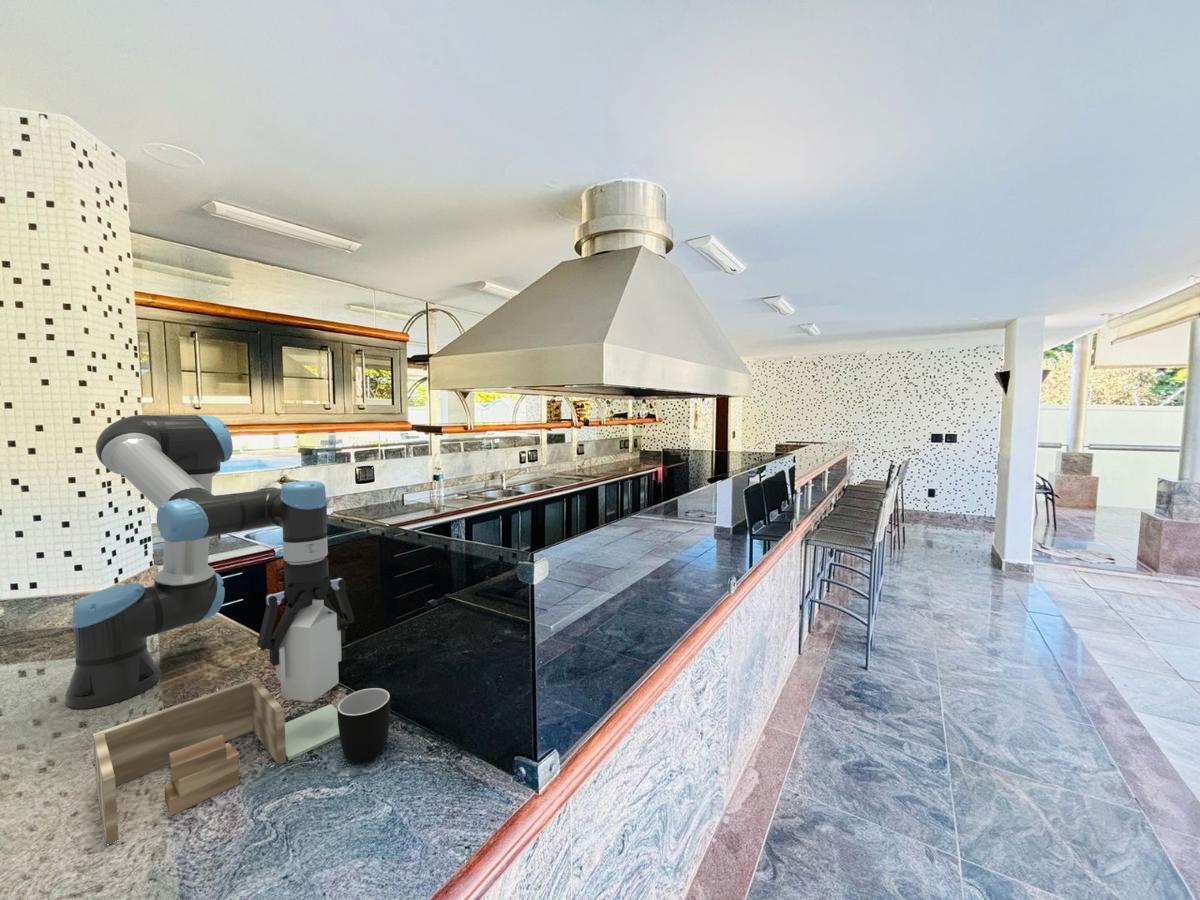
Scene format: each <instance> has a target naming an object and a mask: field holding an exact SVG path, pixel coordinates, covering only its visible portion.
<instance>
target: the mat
mask: <svg viewBox="0 0 1200 900" xmlns="http://www.w3.org/2000/svg"><path fill="white" fill-rule="evenodd" d="M337 738H340V734H339V727H338V715H337V707H335V706H334V704H332V703H330V704H328V705H326V706H323V707H321V708H319V709H316V710H313V711H311V712H309V713H306V714H303V715H302V716H298V717H296V718H293V719H292V720H289V721H288V722H287V721H286V722H285V744H286V760H287V761H291V760H292V759H295V758H297V757H299V756H302V755H304V754H306V753H307V752H310V751H311V750H314V749H316V748H318V747H320V746H322V745H325V744H326V743H328V742H331V741H333V740H336V739H337Z"/></svg>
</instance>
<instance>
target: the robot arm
mask: <svg viewBox="0 0 1200 900" xmlns="http://www.w3.org/2000/svg"><path fill="white" fill-rule="evenodd" d="M233 448H234V447H233V439H232V436H231V433H230V430H229V429H228V427H227V425H226V424H225V423H224V421H222V420H221V419H220V418H218V417H217V416H212V415H211V416H210V415H201V414H200V415H199V414H159V415H158V414H157V415H156V414H153V415H150V414H138V415H132V416H127V417H124V418H121V419H119V420H117V421H115V422H112V423H111V424H109V426H107V427H105V428H104V430H103V431H102V432H101V433H100V434H99V436H98V437H97V440H96V443H95V453H96V456H97V458H98V460H99V461H100V463H101V464H102V465H103V466H104V468H106V469H108V470H109V471H110V472H112V473H114V474H116V475H121V476H122V477H124V478H125V479H126V480H127V481H128V482H130V483H131V484H132V486H133V487H135V488H136V489H137V491H139V492H140V493H141V494H142V496H144V497H145V498H146V499H147V500H148V501H150V503H151V504H153V505H154V507H156V509H157V512H156V527H157V529H158V531H159V532H160V533H159V534H160V536H161V537H162V539H163V561H162V563H163V566H162V569H161V570H160V571H158V572H157V573H156V574H155V575H154V583H153V585H151V586H147V587H145V586H144V585H143V584H142V583H137V582H136V583H125V584H120V585H116V586H111V587H108V588H105V589H102V590H99V591H96V592H93V593H90V594H89V595H86V596H85V597H82V599H80V600H78V601H77V603H76V604H75V605H74V606H73V610H72V622H71V626H72V628H73V641H74V643H73V644H74V655H75V656H74V657H75V658H74V659H75V668H74V671H73V673H72V677H71V679H70V681H69V684H68V688H67V690H66V691H65V704H66V706H67V707H68V708H71V709H79V710H80V709H81V710H82V709H92V708H94V709H95V708H100V707H104V706H107V705H112V704H116V703H118V702H121V701H122V702H123V701H125V700H128V699H130V698H133V697H135V696H137V695H139V694H141V693H143V692H145V691H147V690H149V689H150V688H152V687H153V686H154V685H155V684H156V683H157V682H159V681H158V680H159V679H160V678H159V676H160V675H159V668H158V666H157V664H156V663H155V661H154V659H153V657H152V655H151V654H150V652H149V651H148V643H147V642H148V638H149V637H151V636H155V635H157V634H160V633H165V632H168V631H171V630H175V629H178V628H182V627H184V626H188V625H191V624H197V623H200V622H201V621H203V620H204V621H205V620H206V619H210V618H212V617H214V616H215V615H216V614H217V613H218V612H219V611H220V610H221V608H222V605H223V603H224V599H225V594H226V593H225V592H226V591H225V587H224V581H223V578H222V576H221V575H220V574H219V573H218V572H216V571H215V568H214V567H212V566H211V565H209V551H210V550H209V549H210V538H213V537H217V536H222V535H227V534H233V533H238V532H239V533H240V532H246V531H250V530H257V529H262V528H268V527H279V528H282V529H281V530H282V546H283V547H282V549H283V550H282V551H283V552H282V553H283V560H284V561H285V563H284V564H283V576H284V585H283V586H284V587H283V589H282V590H281V591H280V592H277V593H267V594H266V595H265V604H266V606H265V607H266V608H265V611H264V615H263V618H262V622H261V628H260V631H259V635H258V638H257V643H256V645H257V647H259V649H261V650H262V651H266V650H269V663H270V665H272V667H275V675H276V677H275V678H276V679H277V680H278V681H279V682H280V683H281V682H284V681H286V678H285V651H284V647H283V646H282V645H281V643H282V641H283V639H284V637H285V635H286V633H287V631H288V629H289V627H290V625H291V623H292V621H293V619H294V617H295V615H296V614H297V613H298V612H299V610H300V608H301V609H302V608H306V607H308V606H310V605H312V600H313V599H317V600H324V606H326V607H327V608H329V609H331V610H332V611H334V612H336V613H337V641H338V663H339V662H341V661H342V644H344V643H345V642H346V630H347V629H348V625H350V624H354V622H355V620H356V619H355V615H354V612H353V610H352V606H351V604H350V601H349V598H348V595H347V592H346V591H347V590H346V585H347V584H346V582H347V581H346V580H345V579H344V578H341V577H336V578H335V579H330V578H329V574H330V573H329V559H328V557H327V556H328V555H329V552H328V551H329V549H328V499H327V495H326V485H325V484H324V483H323V482H321V481H317V480H298V481H291V482H290V481H289V482H286V483H284V484H283V485H282V486H281V488H279V487H272V486H270V487H260V488H256V489H255V490H252V491H243V492H236V493H227V494H218V495H217V494H216V495H214V494H212V489H213V488H212V487H213V477H214V476H216V475H217V474H219V473H220V472H221V463H226V462H227V461H229V460H231V457H232V455H233ZM330 588H332V590H333V591H334V592H335V596H336V599H337V602H338V604H339V608H340V611H341V614H342V617H343V618H342V617H341V616H340V614H339V613H338V612H337V609H335V607H334V606H333V604H331V601H330V600H329V599H328V598H327V593H328V591H329V590H330ZM283 599H285V600H287V604H286V606H285V607H284V612H283V614H282V616H281V618H280V620H279V622H278V623H277V626H276V628H275V629H274V625H275V623H276V619H277V618H276V617H277V614H278V610H279V609H278V608H279V607H278V606H280V604H281V603H282V600H283ZM328 613H329V614H330V613H331V612H328ZM273 630H274V631H273Z"/></svg>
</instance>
